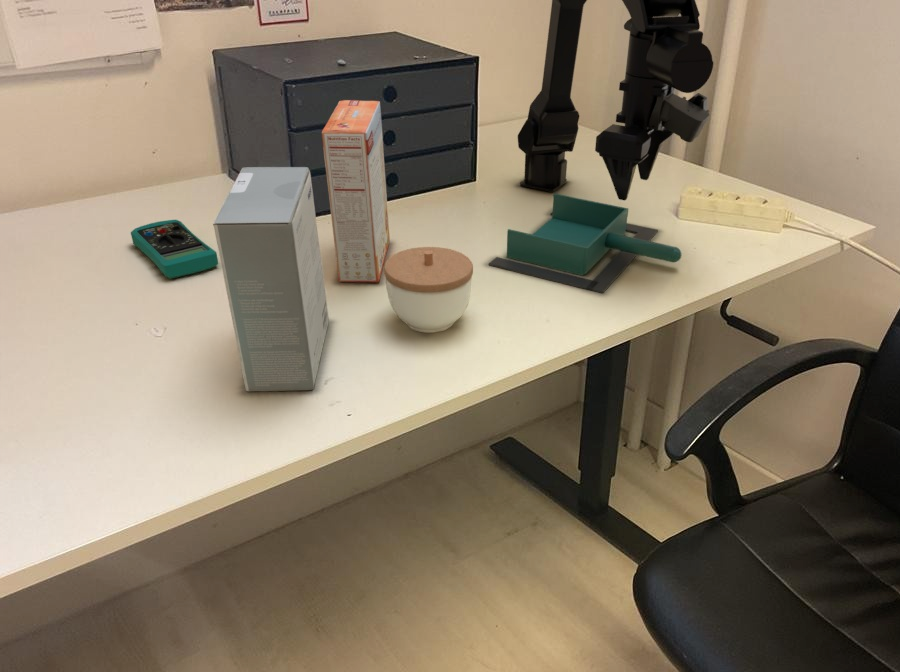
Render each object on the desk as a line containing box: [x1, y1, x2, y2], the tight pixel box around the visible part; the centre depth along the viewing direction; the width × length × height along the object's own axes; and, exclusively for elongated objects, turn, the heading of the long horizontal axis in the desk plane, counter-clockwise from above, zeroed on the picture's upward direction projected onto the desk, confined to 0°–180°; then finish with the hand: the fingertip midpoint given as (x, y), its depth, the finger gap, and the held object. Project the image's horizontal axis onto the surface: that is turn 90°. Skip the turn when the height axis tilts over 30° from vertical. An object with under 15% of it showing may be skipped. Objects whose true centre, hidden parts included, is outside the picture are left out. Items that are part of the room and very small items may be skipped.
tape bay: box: [488, 211, 659, 294], centre depth 121 cm, size 18×24×1 cm
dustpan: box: [506, 193, 683, 277], centre depth 119 cm, size 24×17×4 cm
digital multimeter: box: [130, 219, 219, 279], centre depth 114 cm, size 7×15×3 cm, turn 39°
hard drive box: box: [212, 166, 330, 392], centre depth 89 cm, size 16×8×20 cm, turn 5°
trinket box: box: [383, 246, 474, 334], centre depth 99 cm, size 11×11×9 cm
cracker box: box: [321, 99, 391, 283], centre depth 110 cm, size 14×6×21 cm, turn 1°
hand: (633, 189), depth 113 cm, fingers open, 9 cm apart
